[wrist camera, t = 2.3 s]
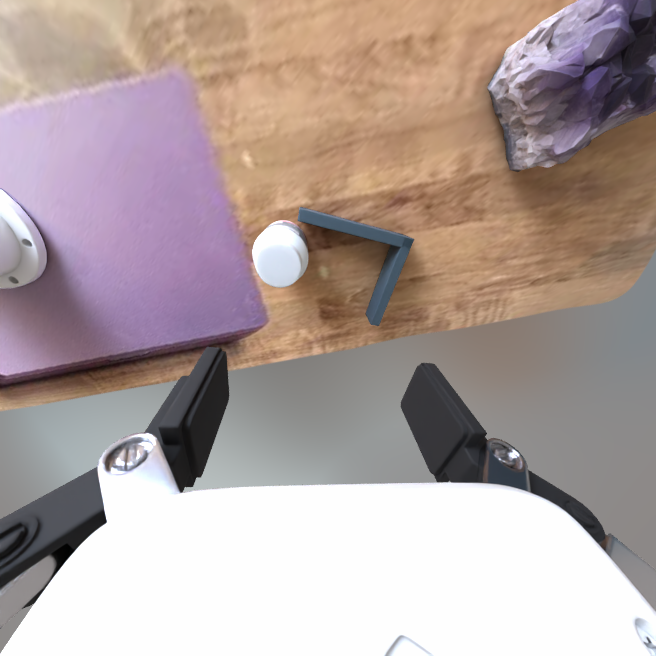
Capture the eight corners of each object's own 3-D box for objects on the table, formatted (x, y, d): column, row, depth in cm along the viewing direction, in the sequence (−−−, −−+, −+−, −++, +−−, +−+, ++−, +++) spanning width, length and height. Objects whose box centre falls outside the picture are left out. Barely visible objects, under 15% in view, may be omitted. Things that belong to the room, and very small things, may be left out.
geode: (726, -89, 19) (1057, -266, 11) (652, 99, 26) (818, 76, 18) (480, 37, 20) (611, -35, 12) (475, 181, 27) (556, 192, 20)
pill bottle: (305, 268, 30) (305, 298, 22) (262, 263, 29) (246, 292, 21) (309, 223, 27) (312, 238, 19) (263, 216, 26) (244, 228, 18)
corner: (284, 299, 32) (283, 309, 29) (300, 206, 26) (299, 208, 24) (372, 315, 35) (378, 326, 32) (403, 234, 29) (414, 239, 26)
